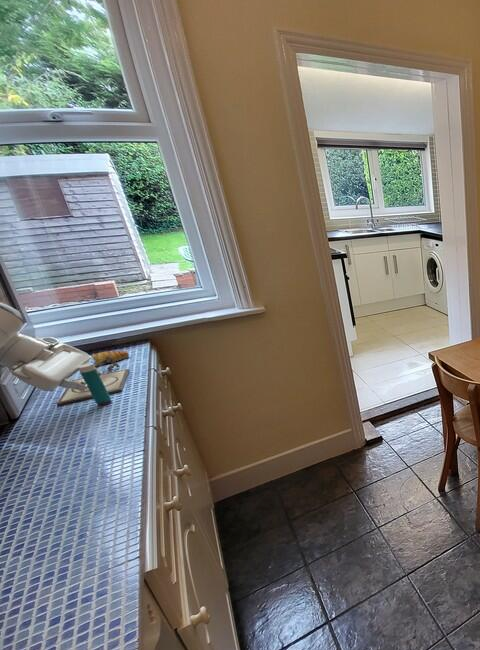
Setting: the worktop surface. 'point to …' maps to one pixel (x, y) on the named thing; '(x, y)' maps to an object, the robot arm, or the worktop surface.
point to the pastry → (115, 354)
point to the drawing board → (111, 382)
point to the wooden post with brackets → (108, 362)
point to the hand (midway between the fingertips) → (94, 381)
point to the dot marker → (95, 384)
